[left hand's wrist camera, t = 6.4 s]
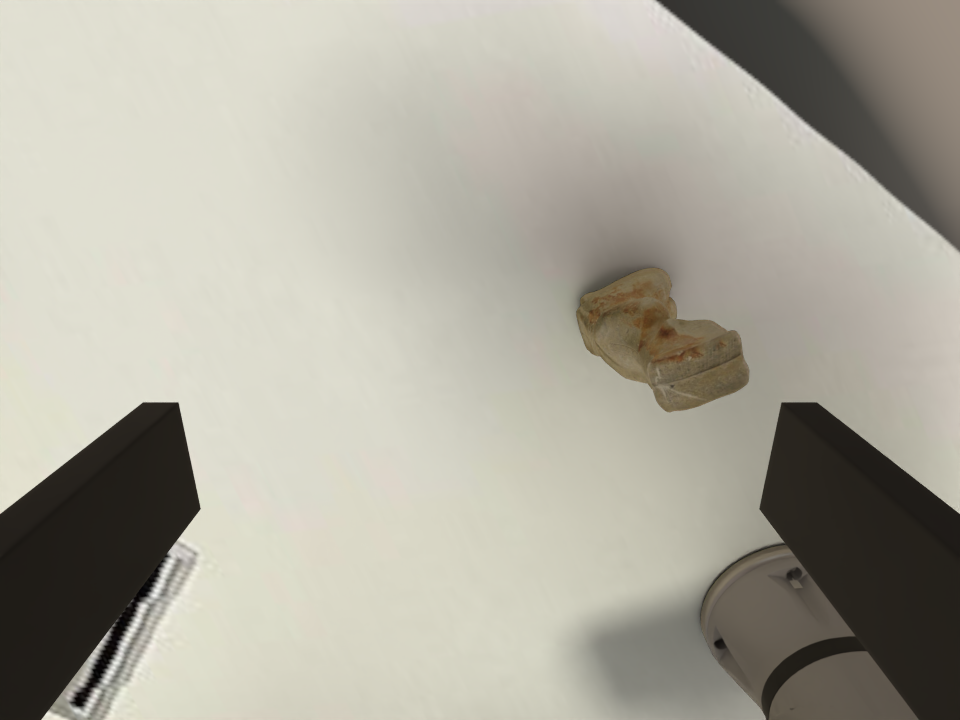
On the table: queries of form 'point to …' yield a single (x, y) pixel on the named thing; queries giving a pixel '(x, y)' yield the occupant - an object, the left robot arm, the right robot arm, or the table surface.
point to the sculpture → (661, 342)
